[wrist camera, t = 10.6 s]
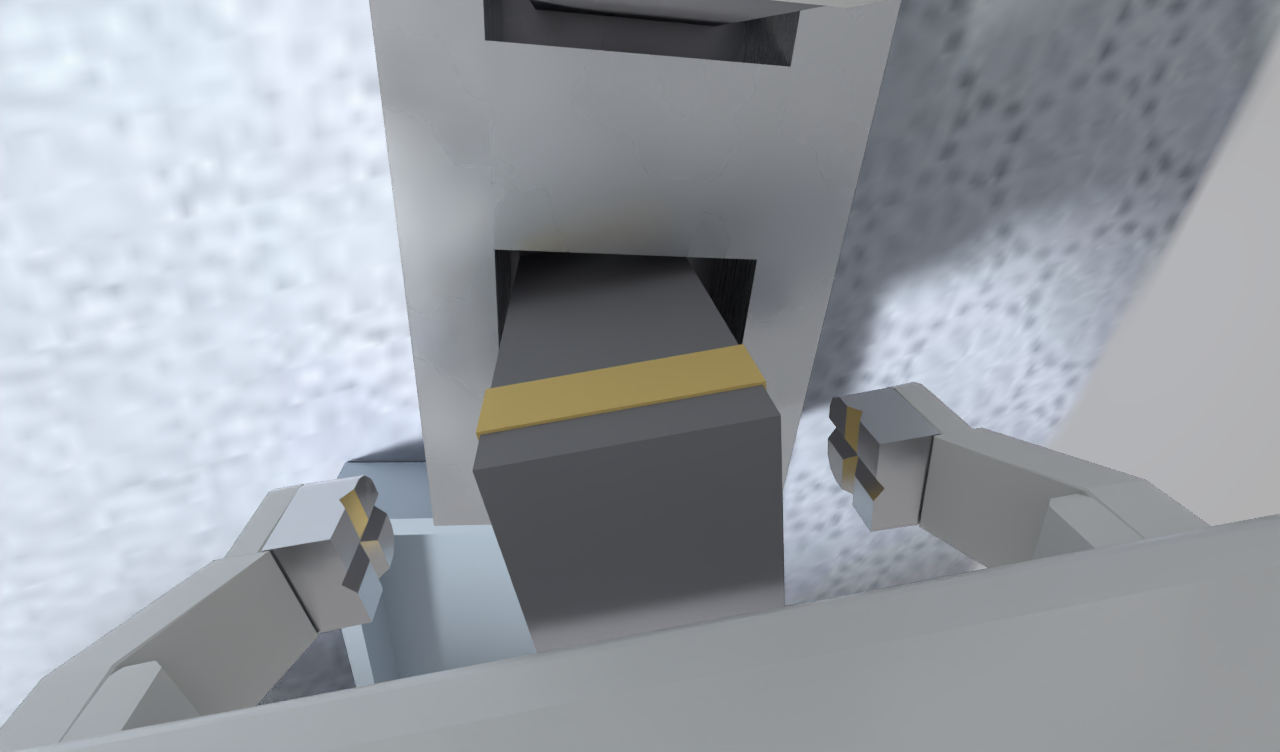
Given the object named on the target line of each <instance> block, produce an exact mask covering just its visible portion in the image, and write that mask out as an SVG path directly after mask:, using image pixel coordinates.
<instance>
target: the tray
mask: <svg viewBox="0 0 1280 752" xmlns="http://www.w3.org/2000/svg"><path fill="white" fill-rule="evenodd" d="M362 475H365V476H367V477H369V478H371V479H372V481H373V483H374V485H375V487H376V489H377V491H378V493H379V494H378V497H377V500H376V502H375V505H374V506H376V507H377V508H379V509H380V510H382V511H384V512H385V513H387V515H388V517H389V519H390V522H391V524H392V529H393V533H394V556H393V559H392V563H391V566H390V568H389V569H388V570H387V571H386V572H385V573H384V574H383V575H382V576H381V577H380V578H379V581H380V583H381V586H382V588H383V591H382V594H381V597H380V600H379V603H378V606H377V609H376V612H375V615H374V618H373V621H372V622H370V623H366V624H361V625H356V626H351V627H346V628H342V633H343V637H344V641H345V645H346V649H347V653H348V657H349V661H350V665H351V669H352V673H353V677H354V681H355V685H356V687H359V686H365V685H370V684H375V683H381V682H386V681H391V680H397V679H402V678H407V677H413V676H418V675H424V674H429V673H434V672H440V671H445V670H450V669H456V668H461V667H466V666H472V665H477V664H482V663H488V662H493V661H498V660H504V659H509V658H514V657H519V656H525V655H530V654H535V653H537V652H536V649H535V646H534V643H533V640H532V638H531V635H530V632H529V629H528V626H527V623H526V621H525V618H524V615H523V612H522V609H521V607H520V604H519V601H518V598H517V595H516V592H515V590H514V587H513V584H512V581H511V578H510V575H509V573H508V570H507V567H506V564H505V561H504V559H503V556H502V553H501V550H500V547H499V544H498V542H497V539H496V536H495V533H494V530H493V528H492V525H455V526H434V523H433V515H432V506H431V498H430V490H429V482H428V474H427V466H426V462H367V463H345V464H344V466H343V468H342V470H341V472H340V474H339V475H338V477H337V479H342V478H348V477H355V476H362Z"/></svg>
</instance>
